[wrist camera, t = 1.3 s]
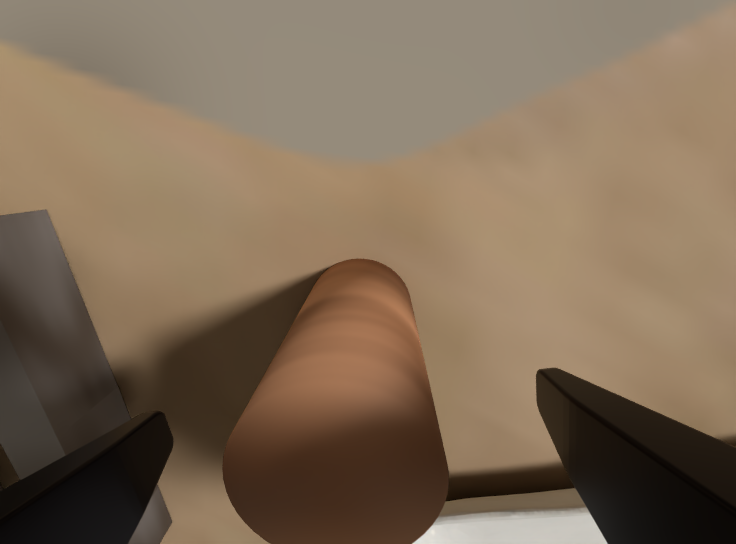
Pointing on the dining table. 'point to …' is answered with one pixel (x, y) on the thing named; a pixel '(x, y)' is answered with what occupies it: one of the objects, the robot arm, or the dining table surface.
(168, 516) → the socket block
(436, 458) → the peg
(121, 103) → the dining table surface
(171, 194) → the dining table surface
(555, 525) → the salad plate
